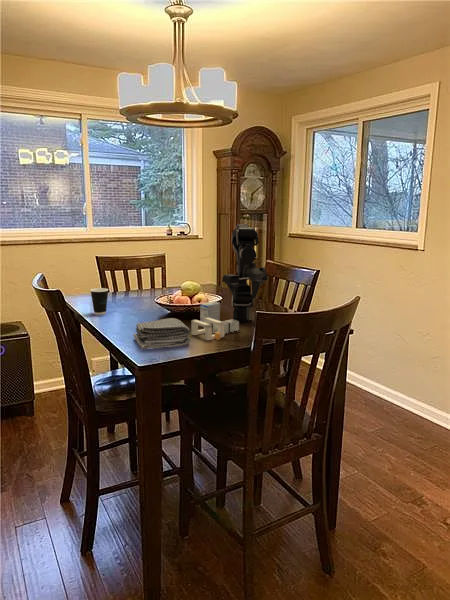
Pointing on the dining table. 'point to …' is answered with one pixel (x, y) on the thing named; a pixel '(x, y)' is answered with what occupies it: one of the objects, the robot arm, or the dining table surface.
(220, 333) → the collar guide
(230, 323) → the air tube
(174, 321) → the towel
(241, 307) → the robot arm
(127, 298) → the dining table surface
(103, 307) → the dixie cup
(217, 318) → the medicine box
